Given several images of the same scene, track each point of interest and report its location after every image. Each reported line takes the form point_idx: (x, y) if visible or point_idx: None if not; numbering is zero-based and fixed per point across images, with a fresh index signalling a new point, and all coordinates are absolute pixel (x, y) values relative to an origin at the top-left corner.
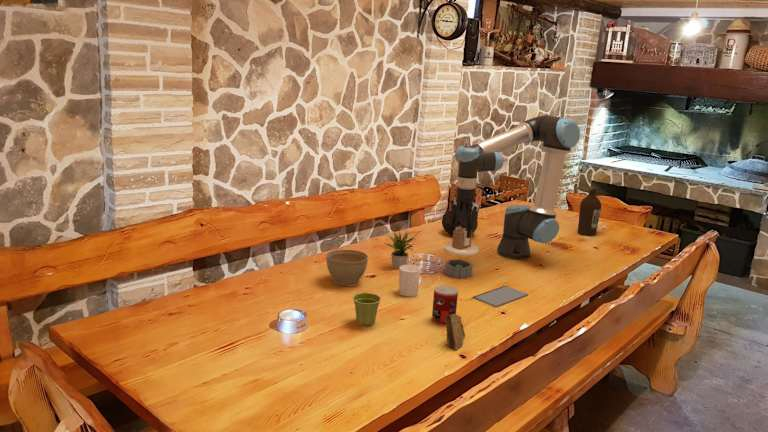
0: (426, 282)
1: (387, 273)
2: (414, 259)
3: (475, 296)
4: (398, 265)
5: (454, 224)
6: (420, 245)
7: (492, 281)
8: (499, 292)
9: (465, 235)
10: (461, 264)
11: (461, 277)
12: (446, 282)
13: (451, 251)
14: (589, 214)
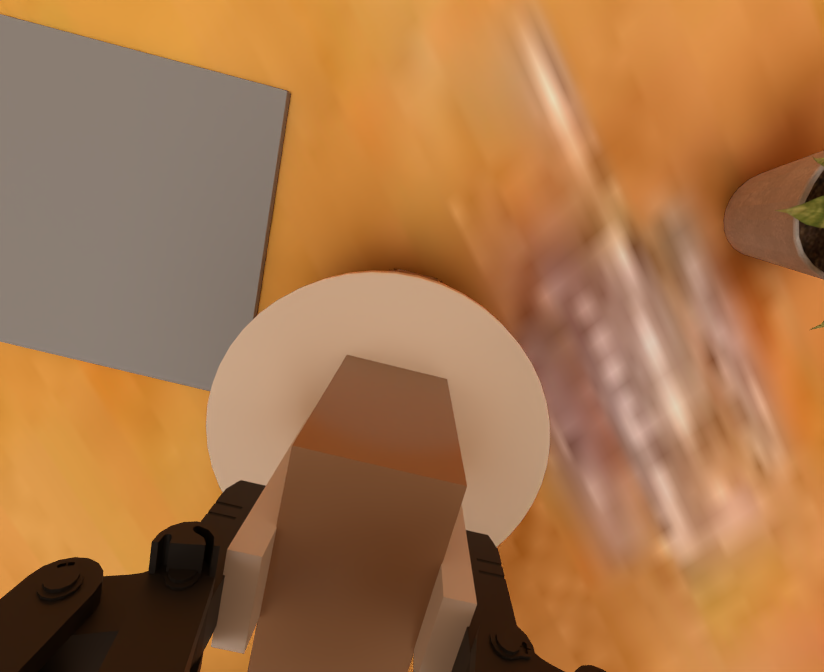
0: (496, 95)
1: (799, 56)
2: (733, 424)
3: (119, 60)
4: (783, 166)
5: (523, 660)
6: (787, 641)
7: (208, 394)
8: (65, 238)
9: (268, 490)
10: None
11: None
12: (395, 192)
13: (400, 274)
14: None
